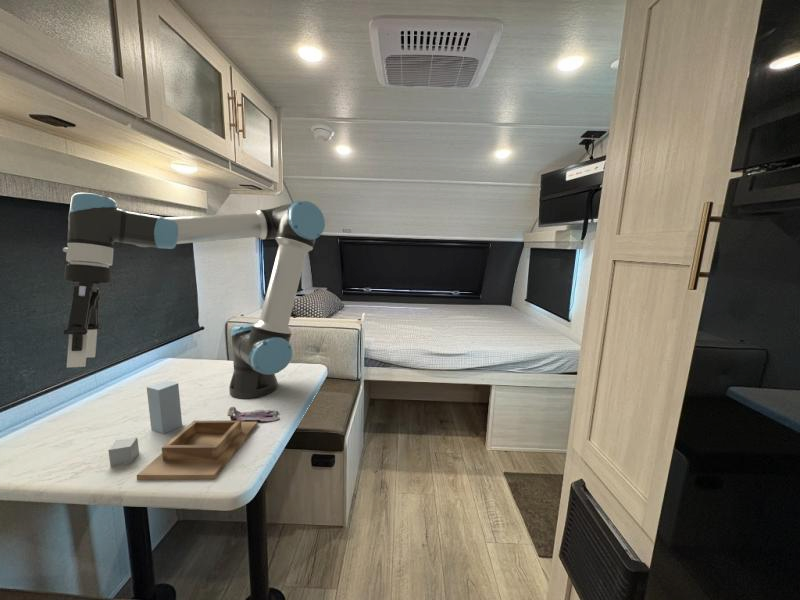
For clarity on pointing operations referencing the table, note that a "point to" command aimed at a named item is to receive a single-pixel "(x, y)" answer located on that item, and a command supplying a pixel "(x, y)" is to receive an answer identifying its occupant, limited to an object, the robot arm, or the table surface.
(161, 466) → the tray
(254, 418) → the pink elongated piece
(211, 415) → the table surface
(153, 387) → the block
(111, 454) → the grey block
